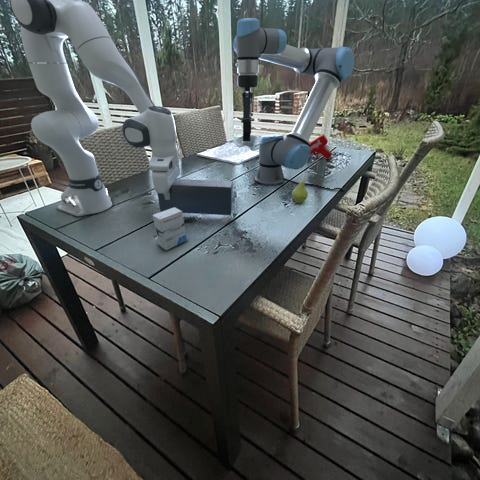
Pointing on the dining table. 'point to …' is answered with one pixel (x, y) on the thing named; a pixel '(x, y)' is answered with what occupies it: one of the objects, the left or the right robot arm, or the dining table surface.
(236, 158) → the relief map
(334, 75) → the right robot arm
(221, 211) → the box
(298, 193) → the fruit
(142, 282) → the dining table surface
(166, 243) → the ink box
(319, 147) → the toy gun
